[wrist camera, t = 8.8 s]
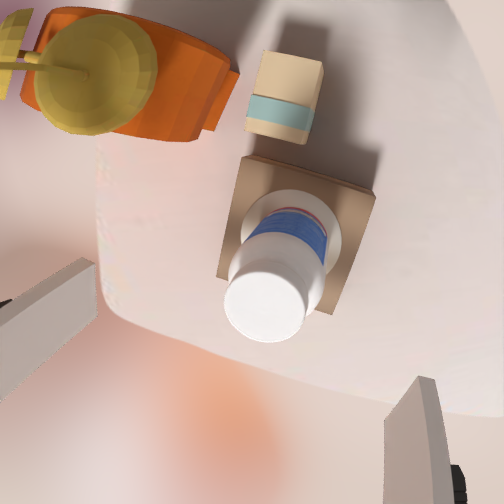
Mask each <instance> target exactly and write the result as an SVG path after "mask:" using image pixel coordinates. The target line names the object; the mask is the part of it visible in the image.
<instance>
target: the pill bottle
mask: <svg viewBox="0 0 504 504" xmlns="http://www.w3.org/2000/svg"><path fill="white" fill-rule="evenodd" d="M328 244H329V243H328V235H327V231H326V229H325V227H324V225H323V223H322V222H321V221H320V219H319V218H318V217H317V216H316V215H314V214H313V213H312V212H310V211H308V210H306V209H303V208H300V207H294V206H288V207H282V208H278V209H276V210H274V211H272V212H271V213H269V214H268V215H267V216H266V217H265V218H264V219H263V220H262V221H261V222H260V223H259V225H258V226H257V227H256V228H255V229H254V231H253V232H252V233H251V234H250V235H249V236H248V238H247V239H246V240H245V241H244V242H243V243H242V245H241V246H240V247H239V249H238V250H237V252H236V253H235V255H234V256H233V258H232V261H231V264H230V267H229V272H228V281H229V286H228V287H227V290H226V292H225V296H224V308H225V312H226V314H227V317H228V319H229V321H230V322H231V324H232V325H233V326H234V327H235V328H236V329H237V330H238V331H239V332H241V333H242V334H243V335H245V336H247V337H248V338H251V339H253V340H256V341H260V342H279V341H282V340H285V339H287V338H289V337H291V336H292V335H294V334H295V333H296V332H297V331H298V330H299V329H300V327H301V326H302V324H303V322H304V319H305V317H306V316H307V315H309V314H310V313H311V312H312V311H313V310H314V309H315V307H316V306H317V304H318V303H319V301H320V299H321V297H322V294H323V291H324V285H325V276H326V266H327V257H328Z"/></svg>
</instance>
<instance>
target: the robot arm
mask: <svg viewBox="0 0 504 504" xmlns="http://www.w3.org/2000/svg"><path fill="white" fill-rule="evenodd" d="M96 317H97V301H96V278H95V263H94V262H91V261H89V260H87V259H85V258H80V259H78V260H77V261H75V262H74V263H71V264H70V265H68V266H66V267H65V268H63V269H62V270H60V271H58V272H57V273H55V274H53V275H52V276H50V277H48V278H47V279H45V280H44V281H42V282H40V283H39V284H37V285H36V286H34V287H32V288H31V289H29V290H28V291H26V292H25V293H23V294H21V295H20V296H18V297H17V298H15V299H14V300H12V299H10V300H6V301H3V302H0V403H1V401H3V400H4V399H5V398H6V397H7V396H8V395H9V394H10V393H11V392H12V391H13V390H15V389H16V388H17V387H18V386H19V385H20V384H21V383H22V382H23V381H24V380H25V379H27V377H29V376H30V375H31V374H32V373H33V372H34V371H35V370H36V369H38V368H39V367H40V366H41V365H42V364H43V363H44V362H45V361H47V360H48V359H49V358H50V357H51V356H52V355H53V354H54V353H56V352H57V351H58V350H59V349H60V348H61V347H62V346H64V345H65V344H66V343H67V342H68V341H69V340H70V339H71V338H73V337H74V336H75V335H76V334H77V333H78V332H80V331H81V330H82V329H83V328H84V327H86V326H87V325H88V324H89V323H90V322H91V321H93V320H94V319H95V318H96ZM384 445H385V446H384V449H385V450H384V453H385V454H384V492H383V504H467V493H466V483H465V477H464V475H463V473H462V471H461V469H460V467H459V465H450V459H449V452H448V445H447V439H446V433H445V427H444V422H443V417H442V411H441V406H440V402H439V397H438V393H437V388H436V384H435V380H434V379H431V378H426V377H422V376H417V378H416V379H415V381H414V382H413V384H412V385H411V386H410V388H409V389H408V390H407V392H406V393H405V394H404V396H403V397H402V398H401V400H400V401H399V402H398V404H397V405H396V406H395V408H394V409H393V410H392V411H391V413H390V414H389V415H388V416H387V418H386V419H385V420H384Z"/></svg>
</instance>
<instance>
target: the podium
mask: <svg viewBox="0 0 504 504" xmlns="http://www.w3.org/2000/svg"><path fill="white" fill-rule="evenodd" d="M375 200H376V196H375V195H374V193H373V192H372V190H369V189H366V188H363V187H360V186H357V185H354V184H351V183H348V182H345V181H342V180H339V179H336V178H333V177H329V176H326V175H323V174H320V173H316V172H313V171H310V170H306V169H303V168H299V167H296V166H292V165H289V164H285V163H282V162H278V161H274V160H271V159H267V158H263V157H259V156H256V155H249V156H244V157H242V158H241V162H240V167H239V171H238V175H237V180H236V184H235V189H234V194H233V198H232V203H231V207H230V212H229V217H228V221H227V226H226V231H225V236H224V240H223V245H222V250H221V255H220V260H219V265H218V270H217V275H216V277H218V278H221V279H224V280H227V281H228V272H229V267H230V264H231V261H232V258H233V256H234V255H235V253H236V252H237V250H238V249H239V247H240V246H241V245H242V243H243V242H244V241H245V240H246V239H247V238H248V236H249V235H250V234H251V233H252V232H253V231H254V229H255V228H256V227H257V226H258V225H259V223H260V222H261V221H262V220H263V219H264V218H265V217H266V216H267V215H268V214H269V213H271V212H272V211H274V210H276V209H278V208H282V207H288V206H294V207H300V208H303V209H306V210H308V211H310V212H312V213H313V214H314V215H316V216H317V217H318V218H319V219H320V221H321V222H322V223H323V225H324V227H325V229H326V231H327V235H328V243H329V244H328V257H327V266H326V276H325V285H324V291H323V294H322V297H321V299H320V301H319V303H318V304H317V306H316V307H315V309H314V310H317V311H321V312H324V313H327V314H330V315H332V314H333V312H334V309H335V307H336V304H337V302H338V300H339V297H340V295H341V292H342V290H343V287H344V285H345V282H346V280H347V277H348V275H349V272H350V270H351V267H352V264H353V262H354V259H355V256H356V254H357V251H358V248H359V246H360V243H361V240H362V237H363V235H364V232H365V229H366V226H367V223H368V220H369V217H370V214H371V212H372V209H373V206H374V203H375Z"/></svg>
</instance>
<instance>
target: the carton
mask: <svg viewBox="0 0 504 504" xmlns="http://www.w3.org/2000/svg"><path fill="white" fill-rule="evenodd" d="M323 76H324V70H323V65H322V62H320V61H316V60H311V59H307V58H302V57H298V56H293V55H288V54H283V53H278V52H272V51H266V50H264V51H263V55H262V59H261V63H260V67H259V71H258V75H257V79H256V83H255V87H254V91H253V95H251V99H250V103H249V107H248V111H247V115H246V117H247V120H246V124H245V129H244V131H248V132H253V133H257V134H261V135H265V136H269V137H273V138H277V139H281V140H285V141H289V142H292V143H296V144H300V145H302V144H306V143H307V139H308V135H309V132H310V130H311V126H312V122H313V119H314V115H315V108H316V104H317V100H318V96H319V92H320V88H321V84H322V80H323Z"/></svg>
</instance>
